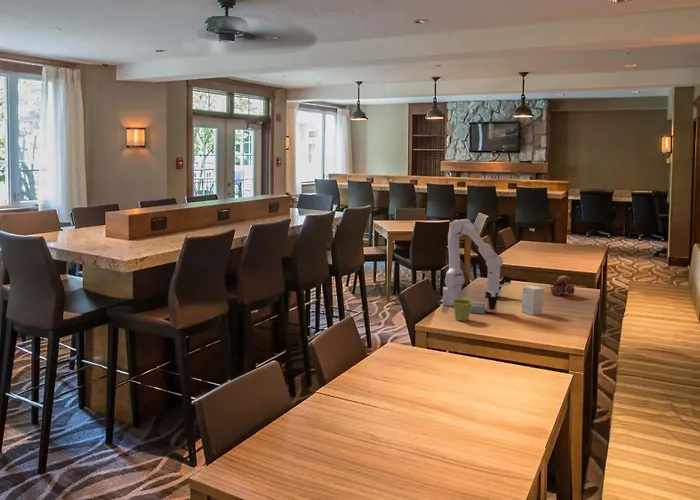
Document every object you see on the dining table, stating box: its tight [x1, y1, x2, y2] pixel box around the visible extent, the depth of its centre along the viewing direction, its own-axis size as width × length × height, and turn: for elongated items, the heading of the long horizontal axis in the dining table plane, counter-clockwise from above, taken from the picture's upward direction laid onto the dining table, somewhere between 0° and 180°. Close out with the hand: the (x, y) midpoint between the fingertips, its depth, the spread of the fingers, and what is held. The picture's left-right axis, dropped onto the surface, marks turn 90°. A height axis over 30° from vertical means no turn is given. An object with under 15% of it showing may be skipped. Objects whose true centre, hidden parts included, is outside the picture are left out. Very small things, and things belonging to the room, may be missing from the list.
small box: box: [521, 285, 545, 316], centre depth 301 cm, size 8×6×13 cm
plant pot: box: [452, 298, 473, 322], centre depth 286 cm, size 9×9×9 cm
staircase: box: [484, 275, 512, 299], centre depth 332 cm, size 9×10×12 cm
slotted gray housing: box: [470, 303, 486, 314], centre depth 301 cm, size 8×5×4 cm, turn 80°
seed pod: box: [547, 274, 575, 296], centre depth 343 cm, size 13×16×15 cm
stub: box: [486, 298, 498, 313], centre depth 300 cm, size 4×5×5 cm
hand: (491, 307), depth 300 cm, fingers closed on stub, 5 cm apart
